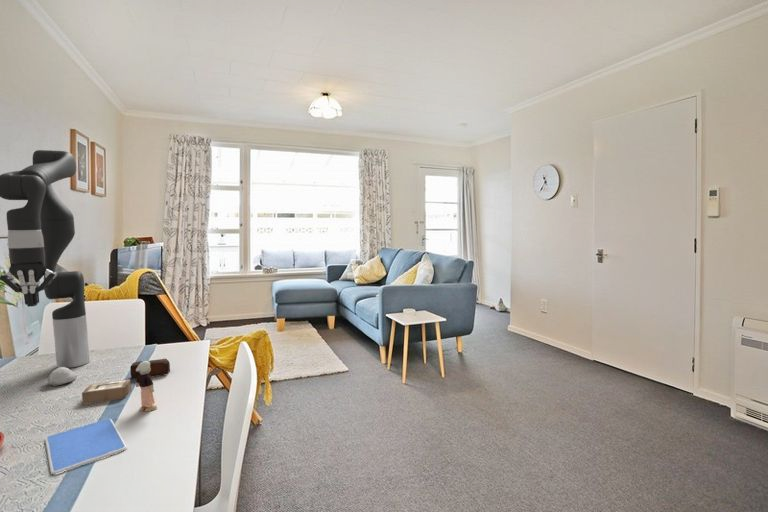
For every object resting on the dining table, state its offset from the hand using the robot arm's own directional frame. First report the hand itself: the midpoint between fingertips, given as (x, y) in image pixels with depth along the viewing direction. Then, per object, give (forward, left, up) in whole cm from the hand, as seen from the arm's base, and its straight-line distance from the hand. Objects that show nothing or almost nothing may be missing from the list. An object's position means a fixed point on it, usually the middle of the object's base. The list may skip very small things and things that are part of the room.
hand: (32, 305), depth 113 cm
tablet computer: (+39, +23, -27) cm, 52 cm away
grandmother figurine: (+24, +32, -26) cm, 48 cm away
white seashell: (-8, +3, -26) cm, 28 cm away
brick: (-3, +28, -26) cm, 38 cm away
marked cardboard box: (+11, +15, -25) cm, 31 cm away
